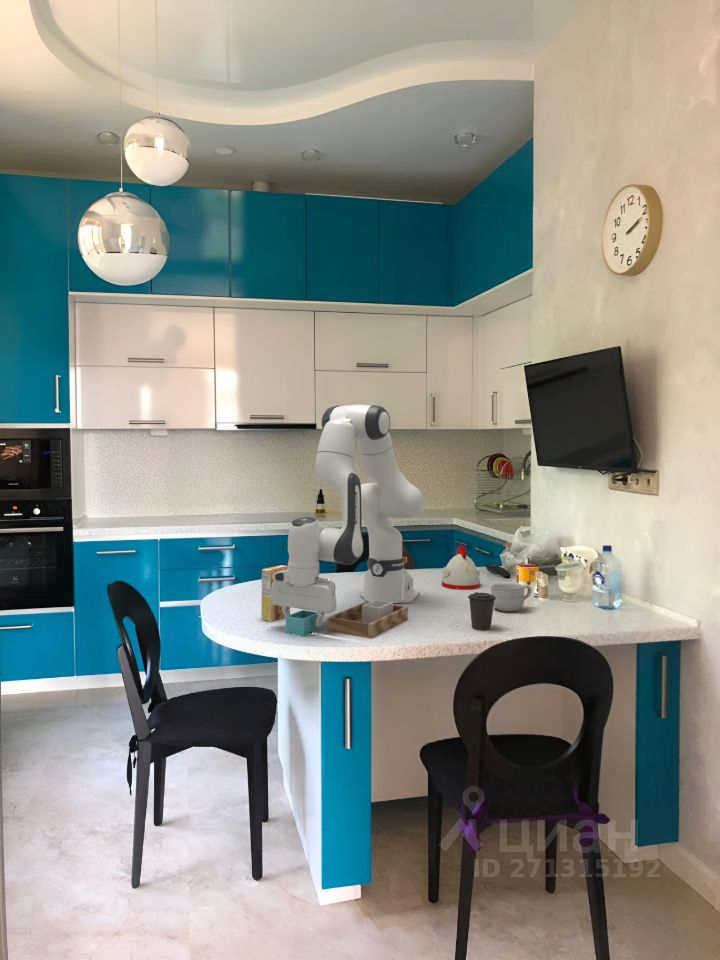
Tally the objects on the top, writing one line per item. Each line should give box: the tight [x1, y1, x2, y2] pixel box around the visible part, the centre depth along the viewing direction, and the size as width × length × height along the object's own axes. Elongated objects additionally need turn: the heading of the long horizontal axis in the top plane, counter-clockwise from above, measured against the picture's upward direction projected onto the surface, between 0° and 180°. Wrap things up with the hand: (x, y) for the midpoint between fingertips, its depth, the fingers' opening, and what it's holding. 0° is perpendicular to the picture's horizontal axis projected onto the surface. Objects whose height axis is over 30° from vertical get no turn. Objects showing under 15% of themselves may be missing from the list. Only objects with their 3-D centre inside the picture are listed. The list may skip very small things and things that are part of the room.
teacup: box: [490, 582, 532, 612], centre depth 235 cm, size 14×11×8 cm
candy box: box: [260, 564, 291, 622], centre depth 220 cm, size 9×4×15 cm, turn 145°
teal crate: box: [285, 609, 319, 637], centre depth 207 cm, size 8×6×5 cm
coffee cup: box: [467, 591, 496, 631], centre depth 212 cm, size 8×8×10 cm
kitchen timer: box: [441, 544, 481, 591], centre depth 269 cm, size 14×14×15 cm
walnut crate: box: [326, 600, 409, 639], centre depth 211 cm, size 23×14×4 cm, turn 151°
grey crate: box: [362, 600, 394, 623], centre depth 216 cm, size 8×6×5 cm
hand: (303, 624), depth 207 cm, fingers open, 8 cm apart
